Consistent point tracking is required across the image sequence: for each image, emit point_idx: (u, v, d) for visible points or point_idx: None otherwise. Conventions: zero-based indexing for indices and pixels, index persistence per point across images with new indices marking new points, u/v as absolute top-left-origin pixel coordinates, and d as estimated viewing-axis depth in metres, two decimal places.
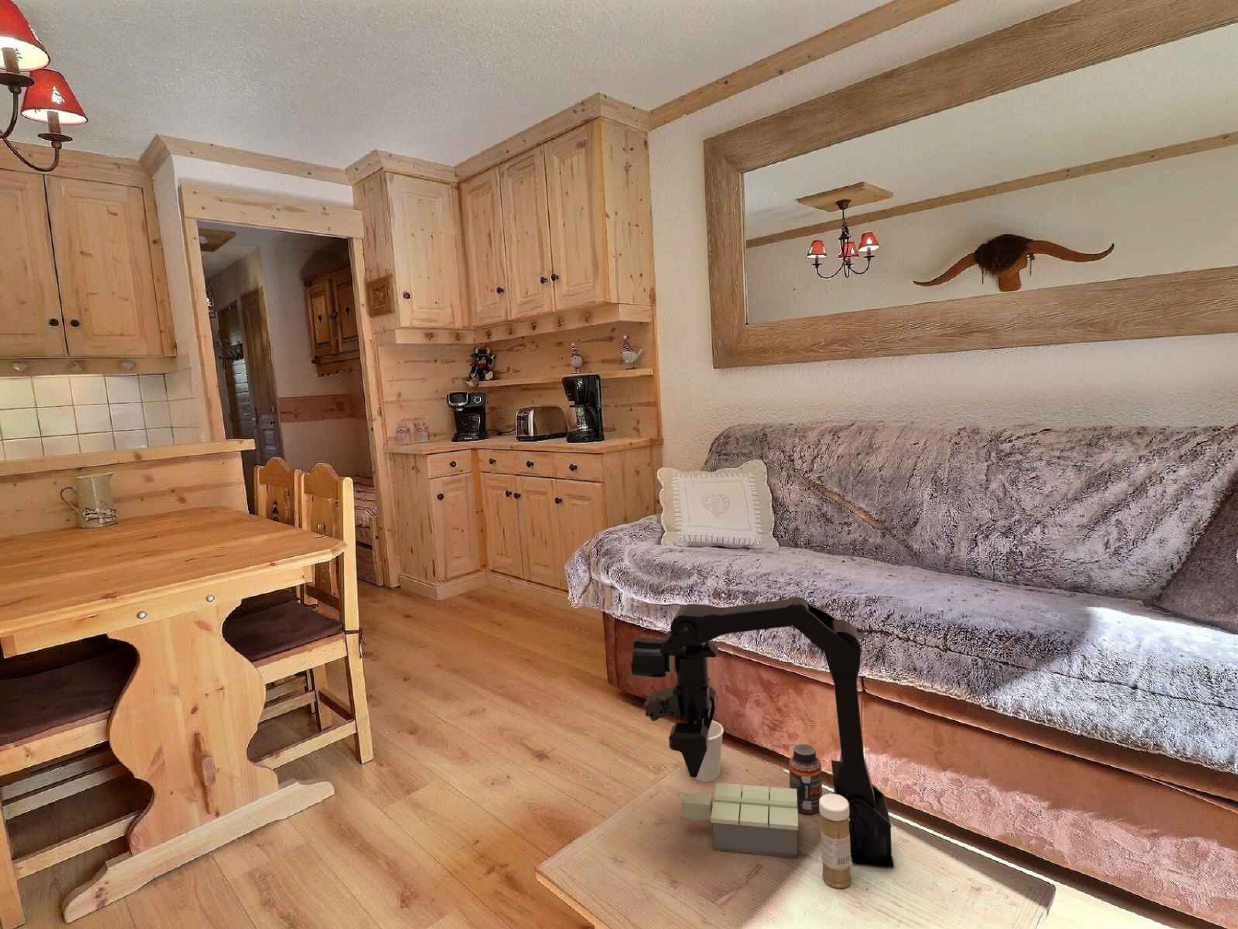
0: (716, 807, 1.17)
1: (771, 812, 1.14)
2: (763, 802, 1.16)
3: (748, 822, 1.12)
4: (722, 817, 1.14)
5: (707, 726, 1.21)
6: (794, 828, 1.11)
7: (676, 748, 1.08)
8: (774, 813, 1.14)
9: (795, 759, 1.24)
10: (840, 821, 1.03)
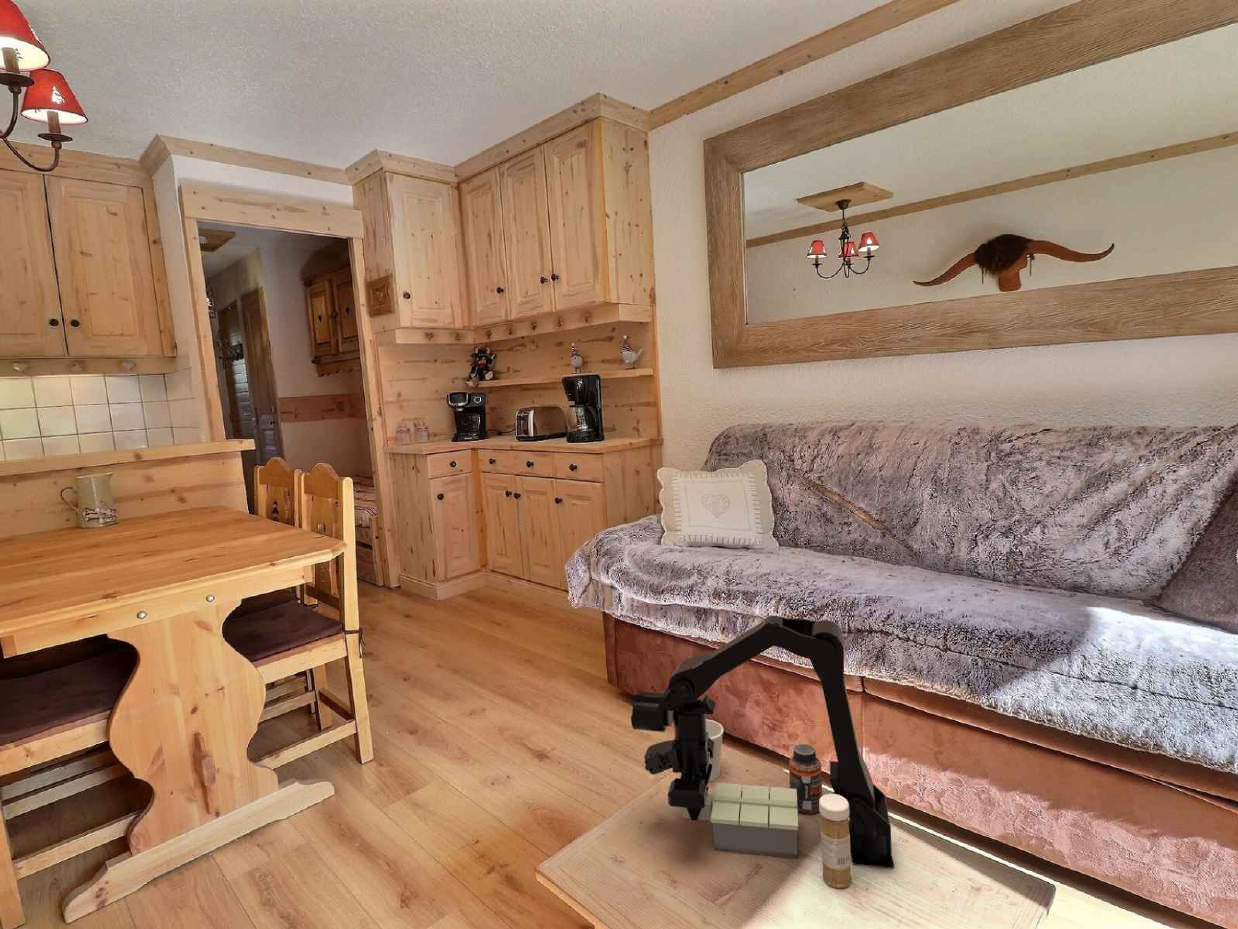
0: (716, 807, 1.17)
1: (771, 812, 1.14)
2: (763, 802, 1.16)
3: (748, 822, 1.12)
4: (722, 817, 1.14)
5: None
6: (794, 828, 1.11)
7: (675, 805, 1.11)
8: (774, 813, 1.14)
9: (795, 759, 1.24)
10: (840, 821, 1.03)
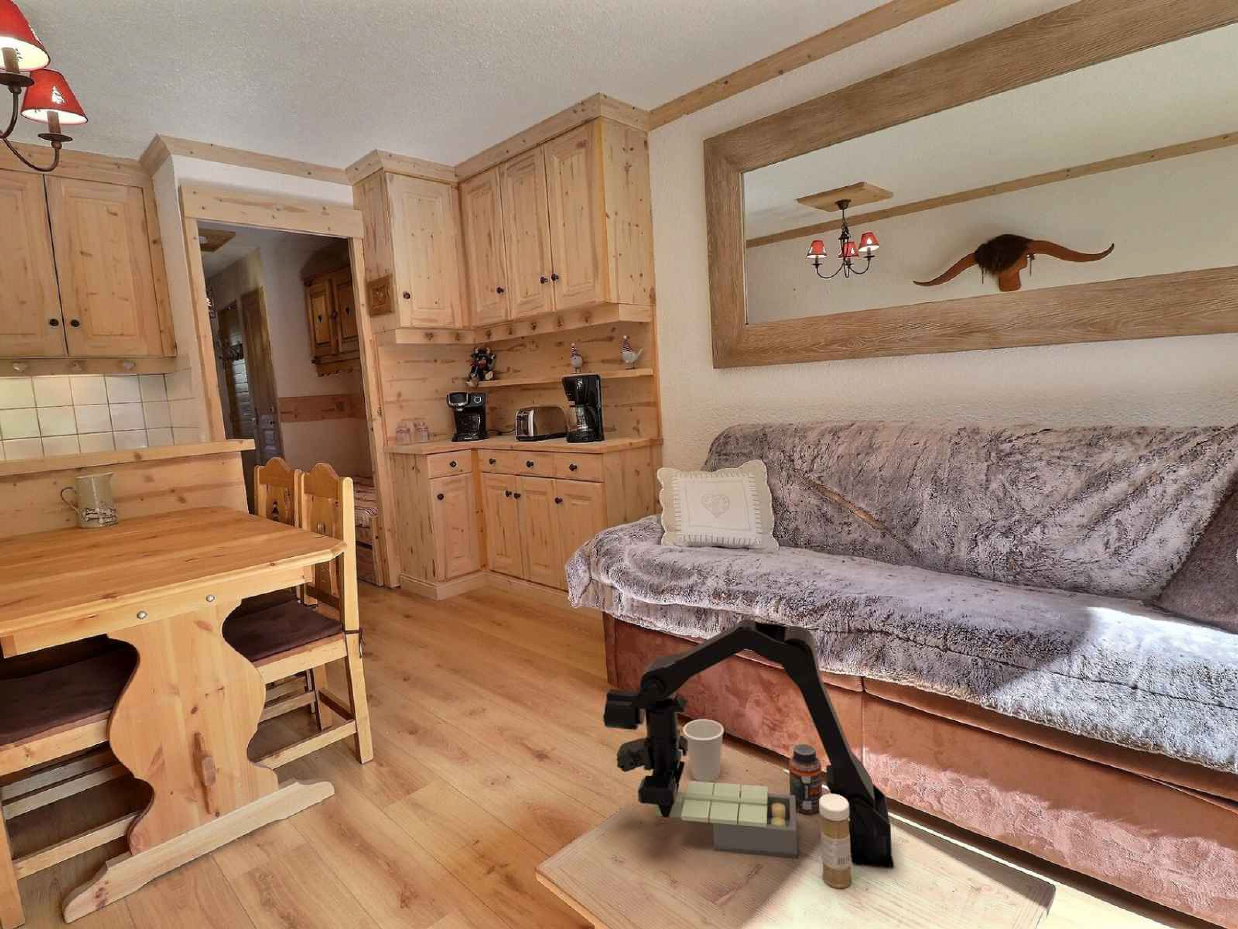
0: (687, 805, 1.18)
1: (741, 809, 1.16)
2: (733, 800, 1.18)
3: (718, 819, 1.14)
4: (692, 814, 1.15)
5: None
6: (763, 825, 1.12)
7: (645, 801, 1.12)
8: (744, 810, 1.15)
9: (795, 759, 1.24)
10: (840, 821, 1.03)
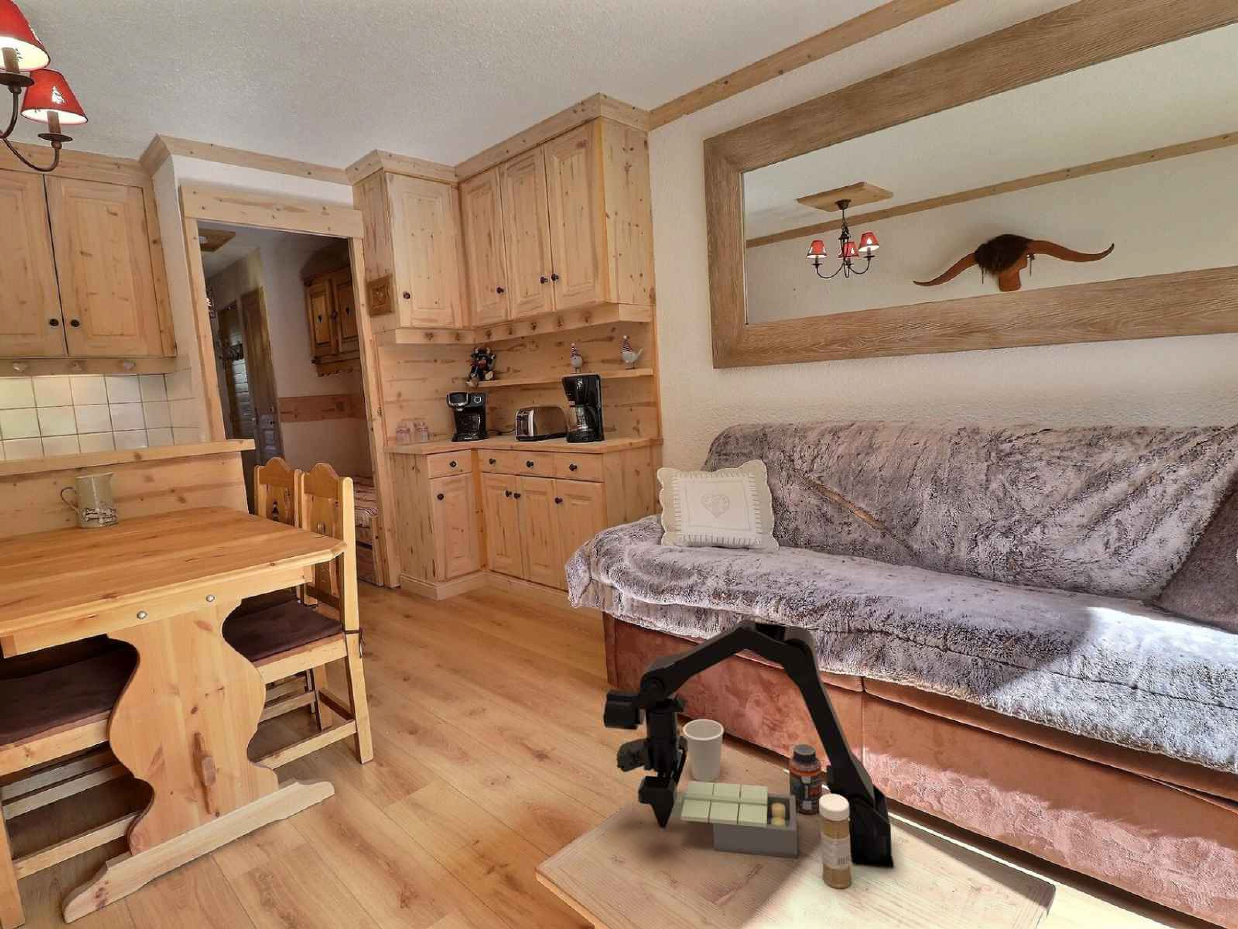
0: (687, 805, 1.18)
1: (741, 809, 1.16)
2: (733, 800, 1.18)
3: (717, 819, 1.14)
4: (692, 814, 1.15)
5: (678, 775, 1.25)
6: (762, 825, 1.12)
7: (644, 802, 1.12)
8: (744, 810, 1.15)
9: (795, 759, 1.24)
10: (840, 821, 1.03)
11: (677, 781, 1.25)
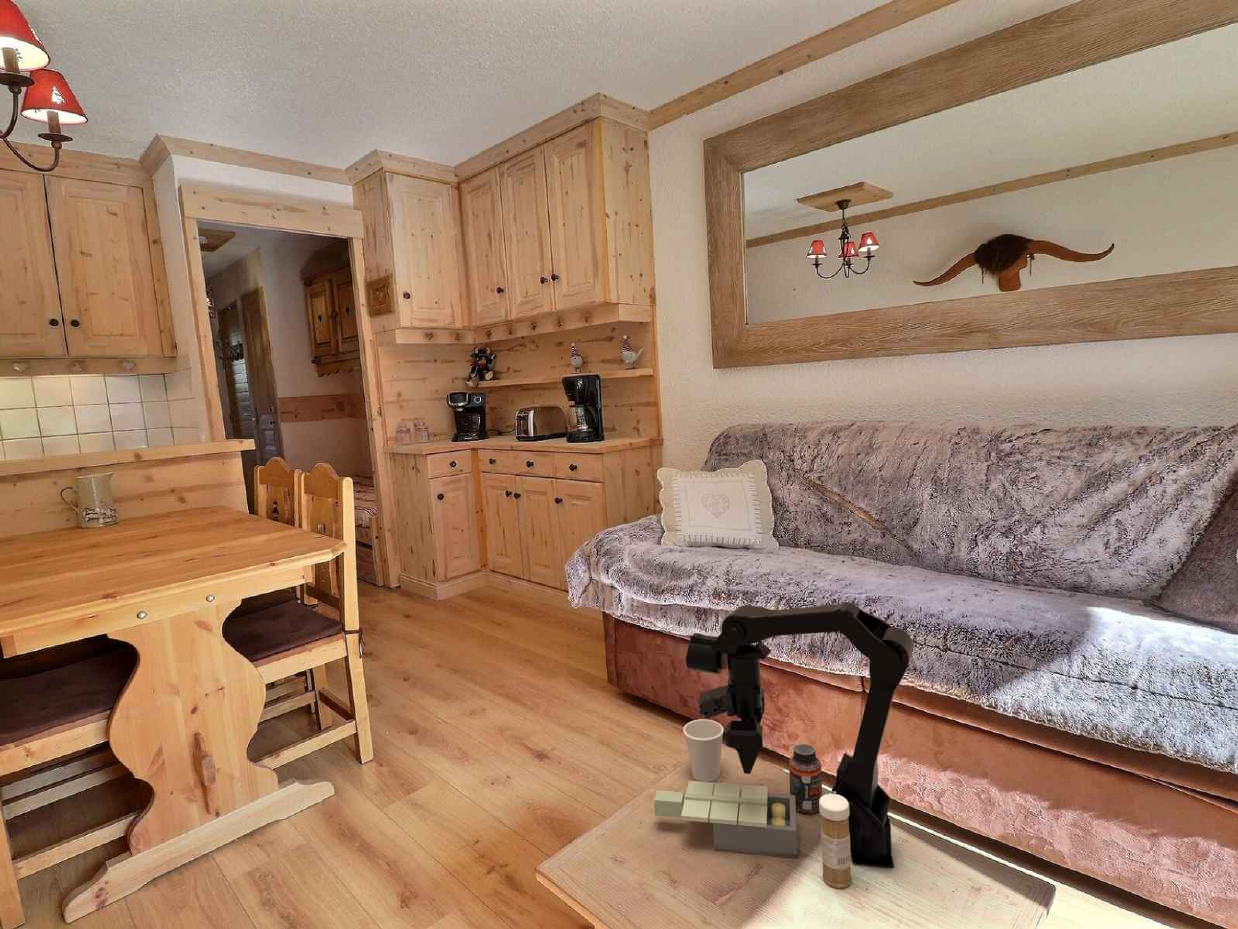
0: (687, 805, 1.18)
1: (741, 809, 1.16)
2: (733, 800, 1.18)
3: (717, 819, 1.14)
4: (692, 814, 1.15)
5: None
6: (762, 825, 1.12)
7: (732, 745, 1.11)
8: (744, 810, 1.15)
9: (795, 759, 1.24)
10: (840, 821, 1.03)
11: None
